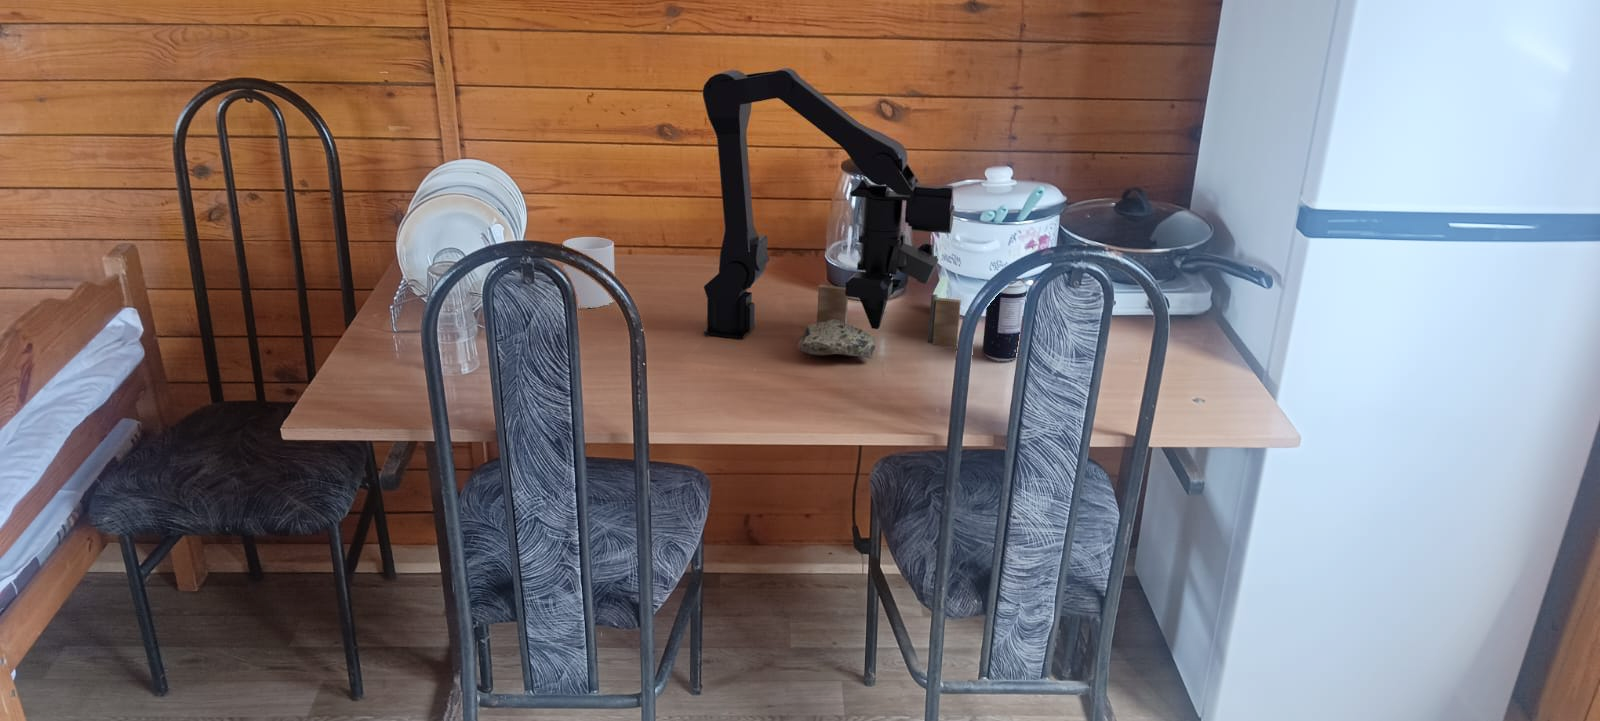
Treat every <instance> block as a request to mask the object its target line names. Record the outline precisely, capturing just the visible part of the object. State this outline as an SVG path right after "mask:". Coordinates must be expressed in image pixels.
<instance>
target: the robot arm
mask: <svg viewBox="0 0 1600 721" xmlns="http://www.w3.org/2000/svg"><path fill="white" fill-rule="evenodd" d="M702 98H703V102H704V106H705V110H706V115H707V118H708V120H709V122H710V125H711V127H712V129H713V131H714V133H715V135H716V140H717V141H716V142H717V152H718V153H717V154H718V164H719V175H720V185H721V186H720V187H721V199H722V210H723V221H724V222H723V224H724V234H723V238H722V243H721V247H720V254H719V265H718V273H717V274H716V275H715V276H713V278H711V280H709V281H708V282H707V283H706V284H705V285H704V286H703V289H704V291H705V292H704V293H705V296H706V298H707V305H706V306H707V307H706V308H707V312H706V314H707V315H706V316H707V318H706V319H707V320H706V321H707V322H706V327H705V329H704V330H703V335H706V336H716V337H723V338H731V339H738V340H741V339H744V338H745V337H746V336H747V335H748V334H750V332H752V330H753V329H754V328H755V306H756V305H755V302H752V298H753V297H752V296H753V295H752V294H753V293H752V291H751V292H749V291H748V290H749V289H751V288H752V286H753V284H754V283H755V282H756V281H757V280H758V279H759V278H761V276H762V275H763V274H764V272H765V270H766V266H767V264H768V262H769V261H771V259H770V256H769V255H768V235H762V236H759V234H758V232H757V230H756V227H755V224H754V215H753V202H752V200H753V199H752V188H751V187H752V186H751V178H750V175H751V174H750V164H749V162H750V161H749V153H748V139H747V138H748V137H747V130H748V126H749V120H750V117H751V112H752V103H758V102H763V101H767V100H774V99H779V100H781V101H782V102H783V103H785V104H786V105H787V106H788V107H789V108H790V109H792V110H793V111H795V112H796V113H797V114H798V115H800V116H801V117H802V118H804V119H805V120H806V121H808V122H809V123H810V124H812V125H813V126H814V127H816V128H817V129H818V130H819V131H821V132H822V133H823V134H825V135H826V136H827V137H828V138H830V139H831V140H832V141H834V142H835V143H836V144H837V145H839V146H840V147H841V148H842V149H843V150H844V151H845V152H846V154H847V155H848V156H849V158H850V160H852V162H853V163H854V165H855V166H856V167H857V169H858V170H859V171H860V172H861V173H863V175H864V176H865V177H866V178H865V177H863V178H862V180H860V183H858V185H857V186H855V187H854V188H853V189H852V190H851V192H849V193H850V196H851V197H854V198H863V209H862V228H861V233H860V234H859V235H858V244H859V243H860V260H859V261H858V262H857V265H856V266H857V268H856V270H857V271H856V272H854V274H853V275H852V276H850V278H849V279H848V280H847V281H846V282H845V287H846V290H845V295H846V296H848V298H857V299H859V300H860V303H861V305H862V307H863V308H862V309H863V310H864V312H865V315H866V316H867V317H866V318H867V320H868V323H869V325H870V328H871V329H873V330H879V328H880V327H881V325H882V324H881V323H882V320H883V317H884V314H885V311H886V310H885V309H886V306H887V304H888V301H889V299H890V297H891V296H892V295H893V294H894V293H895V292H896V290H897V288H898V287H899V286H900V285H901V284H902V280H901V279H895V278H894V275H898V271H899V272H900V273H903V274H904V275H907V276H909V277H911V278H913V279H915V280H916V281H917V282H919V283H921V284H925V285H926V284H927V283H928V282H929V280H930V279H931V277H932V275H933V273H934V271H935V269H936V266H937V265H938V262H939V259H938V256H937V255H935V252H934V250H935V249H934V245H933V243H929V242H927V241H923V242H922V243H921V244H920V245H918V246H917V247H916V245H914V244H913V245H910V244H907V243H905V240H906V235H904V231H903V232H902V219H903V205H904V201H905V203H906V204H905V214H904V222H905V224H908V225H907V226H908V227H911V230H912V231H915V232H916V231H917V232H927V233H938V234H951V233H952V231H953V230H952V228H953V224H954V216H955V215H954V214H955V205H954V186H953V185H928V184H927V185H925V184H920V181H919V179H918V177H917V176H916V175H915V173H914V171H913V170H912V169H911V167H910V164H908V159H909V158H908V152H907V150H906V147H905V146H904V145H903V144H902V143H901V142H899V141H897V140H895V139H894V138H892V137H890V136H888V135H886V134H884V133H883V132H881V131H878V130H876V129H873V128H871V127H867V126H865V125H864V124H862V123H860V122H859V121H857V120H856V119H855V118H853V116H851V115H849V113H847V112H846V111H845V110H843V109H842V108H840V106H838V105H837V104H835V103H834V102H833V101H831V100H830V98H827V97H826V96H825V95H823V93H821V92H820V91H818V89H816V88H815V87H814V86H812V85H811V84H810V83H808V82H807V81H806V80H804V79H803V78H802V77H801V76H800V75H799V74H798V72H796V70H794V69H792V68H791V67H790V68H789V67H784V68H780V69H777V70H773V71H771V70H770V71H763V72H755V73H748V74H745V73H744V72H742V71H741V70H738V69H737V70H736V69H729V70H725V71H722V72H719V73H716V74H714V75H712V76H711V77H709V78H708V79H707V81H705V83H704V84H703V89H702ZM868 180H869V181H868ZM870 181H871V183H870ZM872 183H873V184H872ZM863 271H864V272H863Z"/></svg>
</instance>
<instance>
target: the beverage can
mask: <svg viewBox="0 0 1600 721" xmlns="http://www.w3.org/2000/svg"><path fill="white" fill-rule="evenodd" d="M1020 279H1021V280H1019V281H1017V282H1016V283H1014V284H1012V285H1010V286H1008V287H1007V288H1005V289H1004V290H1003V291H1001V292H1000V293H999V294H998V295H997V296H996V297H995V299H994V300H993V301H992V302H991V303H990V305H989V306H988V307H987V306H986V307H987V308H986V309H985V319H984V329H983V340H982V349H981V350H982V353H983V354H984V355H985V356H986V357H987V358H988V357H989V358H988V359H990V358H991V359H990V360H992V359H994V360H993V361H995V360H999V361H998V362H1000V361H1007V362H1011V361H1010V360H1012V361H1014V360H1016V359H1017V358H1016V353H1017V347H1018V341H1019V334H1020V328H1021V320H1022V312H1023V305H1024V301H1025V297H1026V294H1027V295H1028V289H1027V287H1026V281H1025V280H1024V279H1022V278H1020ZM1015 358H1016V359H1015ZM1013 359H1014V360H1013Z"/></svg>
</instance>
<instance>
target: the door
mask: <svg viewBox="0 0 1600 721" xmlns="http://www.w3.org/2000/svg"><path fill="white" fill-rule="evenodd" d="M948 281H949V276H948V275H941V277H940V279H939V280H938V282H937V285H936V287H935V289H934V290H933V293H932V295H933V294H935V295H937V298H946V299H947V295H946V291H947V292H948V283H949V282H948ZM930 298H932V296H931V297H930ZM930 311H931V309H930Z"/></svg>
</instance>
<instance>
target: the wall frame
mask: <svg viewBox="0 0 1600 721" xmlns="http://www.w3.org/2000/svg"><path fill="white" fill-rule="evenodd" d="M845 290H846V286H845V287H843V286H836V285H835V286H834V285H827V284H826V285H824V284H820V285H819V286H818V290H817V291H818V292H817V308H816V309H817V312H816V313H817V314H816V322H825V321H828V320H831V319H836V320H841V322H844V323H845V324H846V325H848V324H847V322H848V321H847V320H848V302H849V301H848V300H849V297H848V296H846V295H845ZM931 297H932V298H931ZM931 297H930V298H931V299H930V310H931V311H930V312H929V313H930V315H929V324H928V325H929V326H928V327H929V328H928V336H927V337H928V340H927V342H928V343H930V344H933V345H943V346H950V347H957V346H958V339H959V338H958V335H959V326H960V316H961V314H960V313H961V304H962V303H961V302H962V300H961V299H956V298H955V299H953V298H947V297H946V298H937V295H935V294H933V293H932V294H931Z"/></svg>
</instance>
